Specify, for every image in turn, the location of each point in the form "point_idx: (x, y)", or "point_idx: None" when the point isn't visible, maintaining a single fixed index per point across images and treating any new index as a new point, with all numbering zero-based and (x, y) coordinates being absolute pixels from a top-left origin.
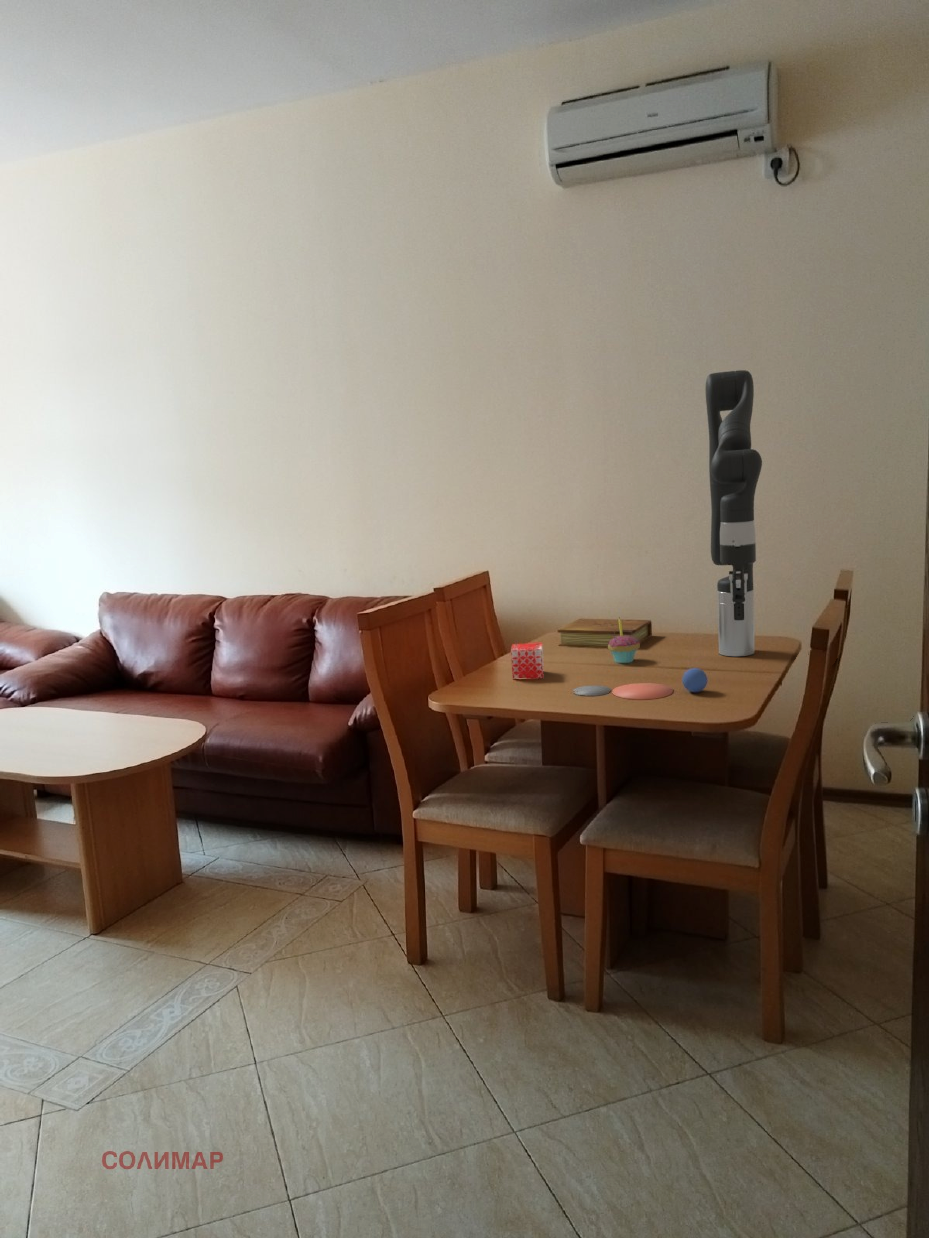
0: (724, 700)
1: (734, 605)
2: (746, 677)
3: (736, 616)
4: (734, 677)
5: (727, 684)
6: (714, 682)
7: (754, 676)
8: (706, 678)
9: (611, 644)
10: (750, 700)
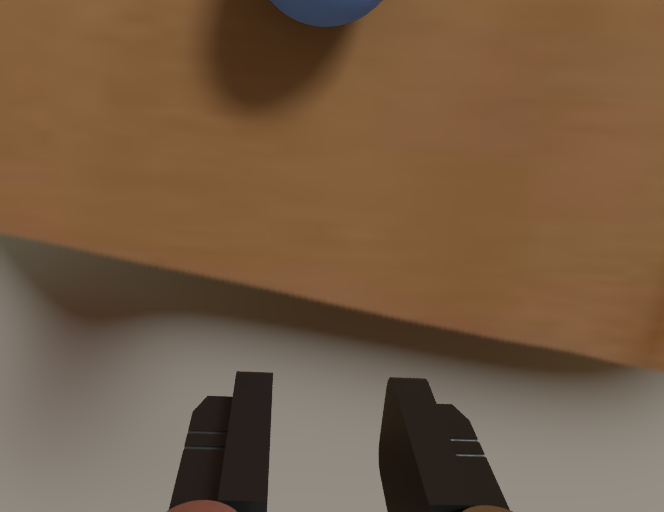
0: (152, 106)
1: (218, 494)
2: (584, 238)
3: (196, 416)
4: (597, 182)
5: (464, 139)
6: (515, 74)
7: (595, 274)
8: (301, 20)
9: None
10: (159, 227)
